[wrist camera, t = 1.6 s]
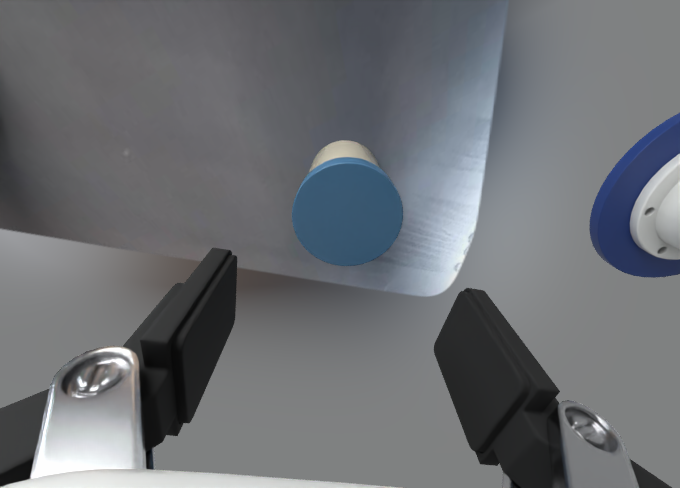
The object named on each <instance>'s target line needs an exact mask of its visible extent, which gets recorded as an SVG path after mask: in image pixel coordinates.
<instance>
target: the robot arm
mask: <svg viewBox="0 0 680 488" xmlns="http://www.w3.org/2000/svg"><path fill="white" fill-rule="evenodd" d="M630 233H631V235H632V238H633V241H634V242H635V243H636V244H637V246H638V247H639V248H641V249H642V250H644V251H645V252H647V253H649V254H651V255H653V256H655V257H659V258H663V259H673V260H679V259H680V154H678V155H677V156H676V157H674V158H673V159H672V160H670V161H669V162H668V163H667V164H665V165H664V166H663V167H662V168H661V169H660V170H659V171H658V172H657V173H656V174H655V175H654V176H653V177H652V178H651V179H650V181H649V182H648V183H647V184H646V186H645V187H644V188H643V190H642V191H641V193H640V195H639V196H638V198H637V200H636V202H635V205H634V207H633V210H632V212H631V218H630ZM236 277H237V256H235V255H232V252H231V250H224V249H218V248H212V249H211V250H210V252H209V253H208V254H207V255H206V257H205V258H204V259H203V261H202V262H201V263H200V264H199V266H198V267H197V268H196V269H195V271H194V272H193V273H192V274H191V276H190V277H189V278H188V279H187V281H186V282H185V283H177V284H175V285H174V286H173V287H172V288H171V290H170V291H169V292H168V293H167V294H166V295H165V297H164V298H163V299H162V300H161V301H160V303H159V304H158V305H157V306H156V307H155V308H154V310H153V311H152V312H151V314H149V316H148V317H147V318H146V319H145V320H144V322H143V323H142V324H141V325H140V326H139V328H138V329H137V330H136V331H135V332H134V334H133V335H132V336H131V337H130V338H129V339H128V341H127V342H126V343H125V344H124V345H123V346H107V347H100V348H96V349H94V350H90V351H87V352H85V353H83V354H81V355H79V356H77V357H75V358H73V359H72V360H71V361H69V362H68V363H67V364H65V365H64V366H63V367H62V368H61V369H60V370H59V371H58V372H57V374H56V375H55V376H54V378H53V381H52V383H51V385H50V389H47V390H45V391H43V392H40V393H38V394H35V395H33V396H30V397H28V398H25V399H23V400H20V401H18V402H15V403H13V404H11V405H8V406H6V407H3V408H1V409H0V488H400V487H389V486H377V485H365V484H352V483H340V482H325V481H314V480H301V479H288V478H274V477H261V476H247V475H234V474H221V473H220V474H219V473H204V472H186V471H168V470H155V458H154V447H155V446H156V445H158V444H160V443H162V442H163V440H164V438H165V436H166V435H173V436H178V434H179V432H180V430H181V427H182V425H183V423H190V422H191V420H192V418H193V416H194V414H195V412H196V409H197V407H198V405H199V402H200V400H201V398H202V396H203V393H204V391H205V389H206V387H207V384H208V382H209V379H210V377H211V375H212V373H213V371H214V368H215V366H216V364H217V361H218V359H219V357H220V355H221V352H222V350H223V348H224V346H225V343H226V341H227V339H228V337H229V334H230V332H231V330H232V327H233V325H234V320H235V306H236ZM434 353H435V356H436V359H437V361H438V364H439V367H440V369H441V372H442V375H443V377H444V380H445V383H446V385H447V388H448V390H449V393H450V396H451V398H452V401H453V404H454V406H455V409H456V412H457V414H458V417H459V419H460V422H461V425H462V427H463V430H464V433H465V435H466V438H467V441H468V443H469V445H470V447H471V449H472V450H473V451H475V452H476V455H477V457H478V460H479V462H480V464H485V465H496V466H497V465H498V464H499V463H500V465H501V468H502V470H503V480H502V488H672V487H670V486H669V485H667V484H666V483H664V482H663V481H661V480H660V479H658V478H657V477H656V476H654V475H653V474H651V473H649V472H648V471H647V470H645V469H644V468H642V467H641V466H639V465H638V464H636V463H635V462H633V461H632V460H630V459H629V456H628V453H627V450H626V448H625V445H624V443H623V441H622V439H621V437H620V436H619V434H618V433H617V432H616V430H615V429H614V428H613V427H612V426H611V425H610V424H609V423H608V422H607V421H606V420H605V419H604V418H603V417H601V416H600V415H599V414H598V413H596V412H595V411H593V410H592V409H590V408H588V407H586V406H585V405H582V404H580V403H578V402H574V401H569V400H567V401H562V402H561V403H560V404H559V402H558V401H557V400H556V398H555V397H556V396H557V394H558V393H559V392H560V391H559V390H558V388H557V387H556V386H555V384H554V383H553V382H552V380H551V379H550V378H549V376H548V375H547V374H546V372H545V371H544V370H543V368H542V367H541V366H540V364H539V363H538V362H537V360H536V359H535V358H534V356H533V355H532V354H531V352H530V351H529V350H528V348H527V347H526V346H525V344H524V343H523V342H522V340H521V339H520V338H519V336H518V335H517V334H516V332H515V331H514V330H513V328H512V327H511V326H510V324H509V323H508V322H507V320H506V319H505V318H504V316H503V315H502V314H501V312H500V311H499V310H498V308H497V307H496V306H495V304H494V303H493V302H492V300H491V299H490V298H489V297H488V295H487V294H486V292H485V291H483V290H477V289H470V288H466V289H465V290H464V291H461V292H460V293H459V294H458V296H457V298H456V300H455V302H454V305H453V307H452V309H451V311H450V313H449V315H448V317H447V319H446V321H445V323H444V325H443V328H442V329H441V332H440V334H439V336H438V338H437V340H436V342H435V345H434Z"/></svg>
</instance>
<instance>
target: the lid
mask: <svg viewBox="0 0 680 488" xmlns="http://www.w3.org/2000/svg"><path fill="white" fill-rule="evenodd" d="M402 220H403V207H402V202H401V198H400V196H399V194H398V191H397V190H396V188H395V186H394V184H393V183H392V181H391V180H390V178H389V177H388V176H387V174H386V173H385V172H384V171H383V170H382V169H380V168H379V167H378V166H376V165H375V164H373V163H371V162H369V161H367V160H363V159H360V158H355V157H341V158H335V159H331V160H329V161H326V162H324V163H322V164H320V165H318V166H317V167H316V168H314V169H313V170H312V171H311V172H310V173H309V174H308V175H307V176H306V177H305V179H304V180H303V182H302V184H301V185H300V188H299V190H298V192H297V195H296V197H295V200H294V203H293V208H292V222H293V227H294V230H295V233H296V235H297V237H298V239H299V241H300V242H301V244H302V245H303V246H304V247H305V249H306V250H307V251H309V252H310V253H311V254H312V255H314V256H315V257H316V258H318V259H320V260H322V261H324V262H327V263H330V264H334V265H339V266H355V265H360V264H364V263H367V262H369V261H372V260H374V259H376V258H377V257H379V256H380V255H382V254H383V253H384V252H386V251H387V250H388V249H389V248H390V246H391V245H392V244H393V243H394V241H395V240H396V238H397V236H398V234H399V232H400V229H401V225H402Z"/></svg>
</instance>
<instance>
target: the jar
mask: <svg viewBox="0 0 680 488" xmlns="http://www.w3.org/2000/svg"><path fill="white" fill-rule="evenodd" d="M341 157H355V158H360V159H363V160H367V161H369V162H371V163H373V164H375V165H376V166H378V167H379V168H380V166H379V164H378V162H377V161H376V159H375V157H374V155H373V154H372V153H371V152H370V151H369V150H368V149H367V148H366V147H365V146H363V145H361V144H359V143H357V142H354V141H346V140H344V141H337V142H333V143H331V144H329V145H327V146H325V147H324V148H323V149H322V150H321V151H320V152H319V153H318V154H317V155H316V157H315V159H314V161H313V163H312V165H311V168H310V171H309V173H310V172H311V171H312V170H313V169H314V168H316V167H317V166H318V165H320V164H322V163H324V162H326V161H329V160H331V159H335V158H341ZM380 169H381V168H380ZM309 173H308V174H309Z"/></svg>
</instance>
